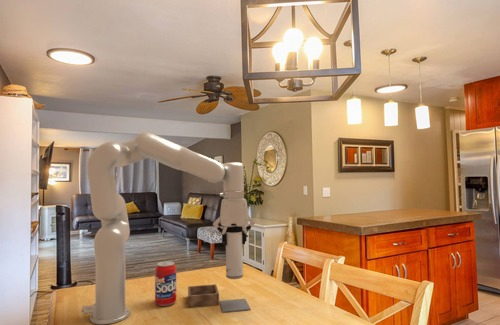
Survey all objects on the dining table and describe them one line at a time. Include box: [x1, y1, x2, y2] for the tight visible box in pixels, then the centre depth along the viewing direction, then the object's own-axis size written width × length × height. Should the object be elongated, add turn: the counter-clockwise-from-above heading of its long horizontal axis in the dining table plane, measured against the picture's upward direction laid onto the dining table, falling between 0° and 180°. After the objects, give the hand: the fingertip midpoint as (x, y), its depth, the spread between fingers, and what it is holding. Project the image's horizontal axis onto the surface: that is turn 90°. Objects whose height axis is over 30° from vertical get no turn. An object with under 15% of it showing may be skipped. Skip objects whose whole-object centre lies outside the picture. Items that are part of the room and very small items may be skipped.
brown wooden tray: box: [187, 283, 220, 308], centre depth 126 cm, size 11×11×4 cm
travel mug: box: [225, 224, 244, 280], centre depth 122 cm, size 6×7×20 cm
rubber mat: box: [219, 298, 251, 314], centre depth 121 cm, size 10×10×1 cm
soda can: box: [154, 260, 177, 307], centre depth 124 cm, size 8×8×15 cm
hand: (234, 243), depth 122 cm, fingers closed on travel mug, 6 cm apart
